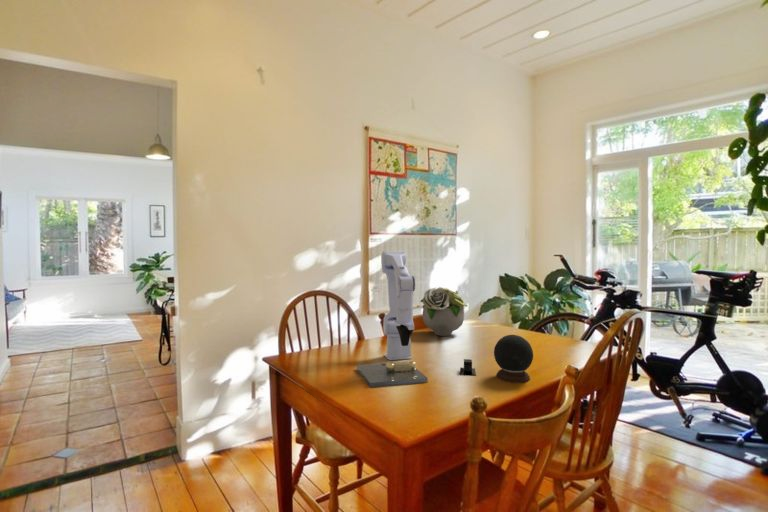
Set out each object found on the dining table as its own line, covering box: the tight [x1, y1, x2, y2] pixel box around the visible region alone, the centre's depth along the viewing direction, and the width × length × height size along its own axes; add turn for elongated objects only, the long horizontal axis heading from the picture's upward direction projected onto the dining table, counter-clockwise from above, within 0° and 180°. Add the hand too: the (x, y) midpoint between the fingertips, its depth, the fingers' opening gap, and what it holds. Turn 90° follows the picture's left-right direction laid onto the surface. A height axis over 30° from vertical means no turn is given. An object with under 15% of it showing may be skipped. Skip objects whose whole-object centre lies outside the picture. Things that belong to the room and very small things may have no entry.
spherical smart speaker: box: [493, 334, 534, 384], centre depth 146 cm, size 13×13×15 cm
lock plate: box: [356, 362, 429, 388], centre depth 147 cm, size 20×20×2 cm
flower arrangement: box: [420, 287, 469, 337], centre depth 214 cm, size 25×25×24 cm
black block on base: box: [459, 358, 477, 377], centre depth 153 cm, size 12×7×5 cm, turn 170°
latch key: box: [385, 361, 417, 372], centre depth 148 cm, size 11×3×2 cm, turn 99°
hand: (404, 345), depth 154 cm, fingers closed
